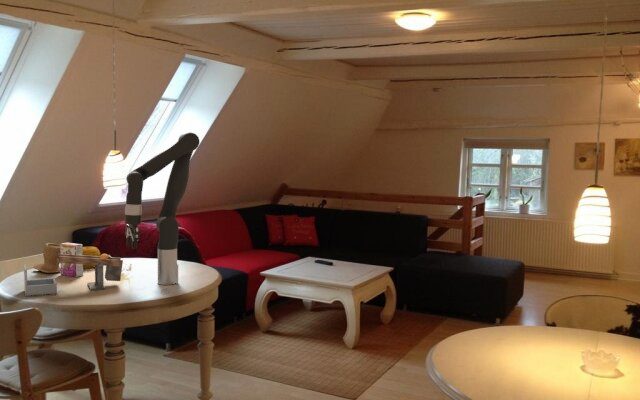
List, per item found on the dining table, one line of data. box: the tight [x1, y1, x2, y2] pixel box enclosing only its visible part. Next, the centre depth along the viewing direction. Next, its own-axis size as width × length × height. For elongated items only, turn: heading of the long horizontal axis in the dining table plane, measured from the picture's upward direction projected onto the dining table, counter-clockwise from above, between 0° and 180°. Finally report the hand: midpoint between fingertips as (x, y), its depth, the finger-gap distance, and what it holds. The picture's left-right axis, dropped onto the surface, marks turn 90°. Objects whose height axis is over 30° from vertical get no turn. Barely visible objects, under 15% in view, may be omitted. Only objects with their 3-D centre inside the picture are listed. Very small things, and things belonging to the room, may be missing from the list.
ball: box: [100, 253, 109, 259], centre depth 277 cm, size 4×4×4 cm
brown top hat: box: [32, 242, 61, 274], centre depth 307 cm, size 15×12×15 cm
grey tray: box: [23, 264, 58, 297], centre depth 265 cm, size 13×13×12 cm
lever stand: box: [87, 263, 106, 292], centre depth 276 cm, size 6×13×12 cm, turn 29°
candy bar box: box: [59, 242, 84, 278], centre depth 299 cm, size 11×5×16 cm, turn 65°
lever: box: [57, 254, 124, 282], centre depth 277 cm, size 28×14×11 cm, turn 119°
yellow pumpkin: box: [83, 246, 101, 269], centre depth 320 cm, size 13×13×11 cm
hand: (131, 247), depth 279 cm, fingers open, 8 cm apart
